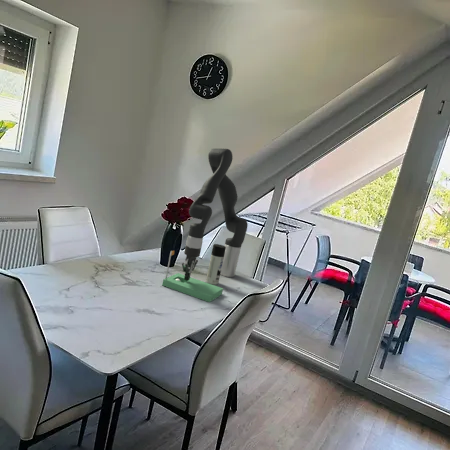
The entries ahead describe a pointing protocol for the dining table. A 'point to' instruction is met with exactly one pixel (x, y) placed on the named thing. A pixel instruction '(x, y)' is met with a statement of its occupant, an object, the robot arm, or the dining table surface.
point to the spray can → (215, 264)
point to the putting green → (192, 286)
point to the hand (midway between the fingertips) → (186, 279)
